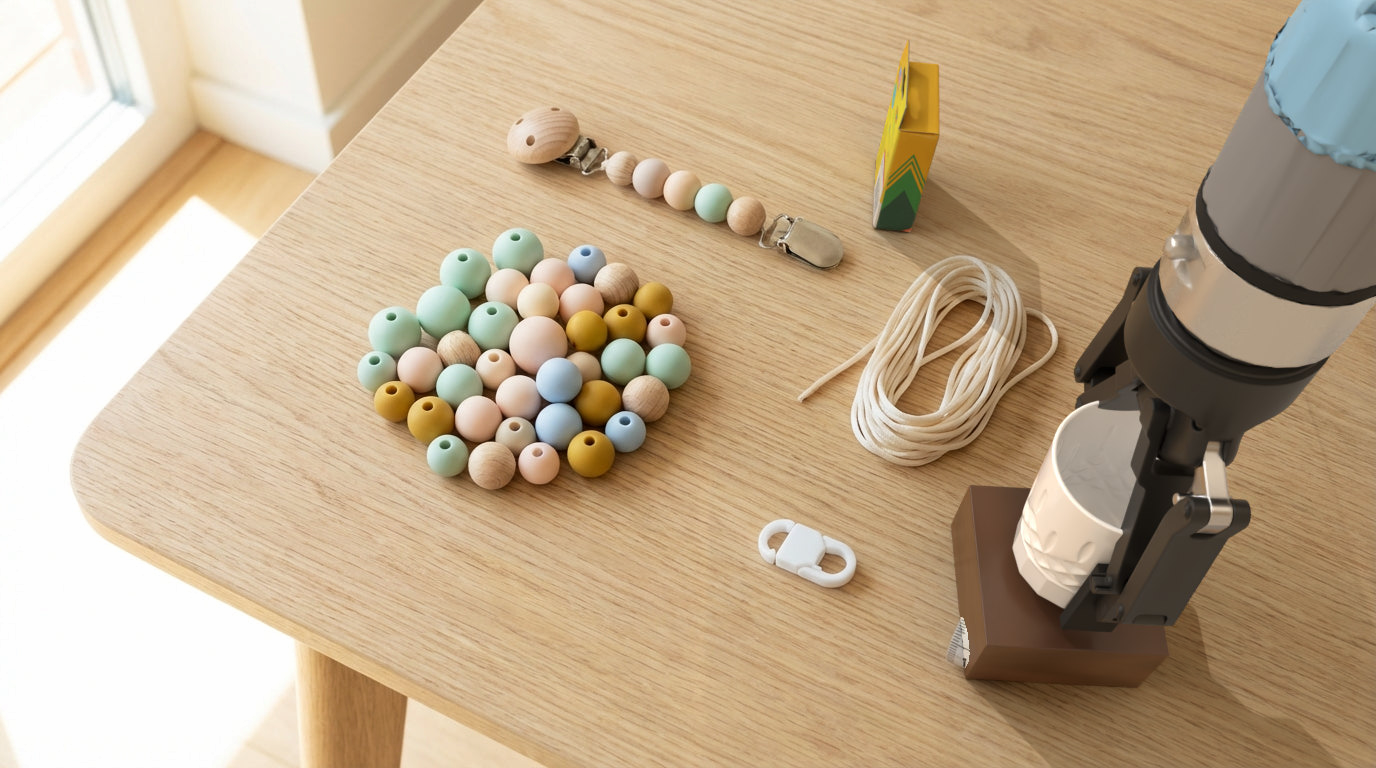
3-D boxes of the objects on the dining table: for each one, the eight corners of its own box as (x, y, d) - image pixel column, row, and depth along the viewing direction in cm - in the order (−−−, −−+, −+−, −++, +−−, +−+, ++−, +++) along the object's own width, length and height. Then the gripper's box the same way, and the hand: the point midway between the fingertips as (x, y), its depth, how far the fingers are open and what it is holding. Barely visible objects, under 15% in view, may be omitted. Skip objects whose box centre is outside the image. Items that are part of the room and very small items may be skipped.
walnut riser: (1110, 532, 76) (1138, 493, 72) (1138, 688, 70) (1170, 655, 66) (950, 524, 76) (969, 484, 71) (964, 679, 70) (986, 645, 66)
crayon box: (912, 234, 89) (946, 116, 79) (871, 230, 89) (901, 110, 79) (914, 162, 93) (946, 41, 83) (875, 157, 93) (903, 36, 84)
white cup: (1173, 578, 67) (1249, 490, 59) (1067, 649, 65) (1130, 566, 56) (1077, 472, 71) (1135, 374, 63) (972, 534, 68) (1019, 441, 60)
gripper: (1113, 115, 54) (988, 397, 73) (1204, 522, 43) (1029, 733, 62) (1280, 124, 54) (1112, 404, 73) (1416, 533, 43) (1176, 740, 62)
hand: (1074, 554), depth 68 cm, fingers closed on white cup, 8 cm apart
